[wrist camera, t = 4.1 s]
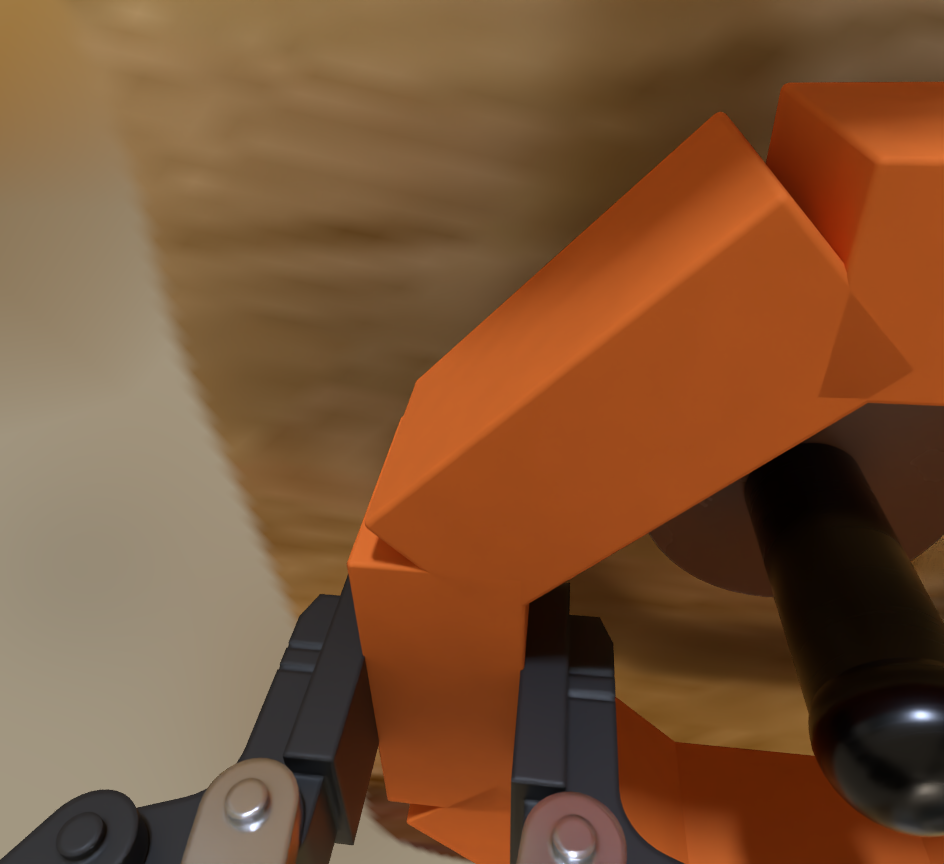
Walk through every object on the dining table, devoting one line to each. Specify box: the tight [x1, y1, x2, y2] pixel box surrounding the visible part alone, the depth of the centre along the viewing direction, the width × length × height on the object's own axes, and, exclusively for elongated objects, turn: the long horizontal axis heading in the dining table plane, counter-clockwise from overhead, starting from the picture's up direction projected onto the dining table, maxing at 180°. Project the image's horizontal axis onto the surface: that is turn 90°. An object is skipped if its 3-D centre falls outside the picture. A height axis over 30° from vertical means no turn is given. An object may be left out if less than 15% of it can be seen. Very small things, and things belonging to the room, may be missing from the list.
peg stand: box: [649, 403, 944, 837], centre depth 13 cm, size 7×7×8 cm
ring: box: [347, 82, 944, 864], centre depth 12 cm, size 16×16×4 cm
